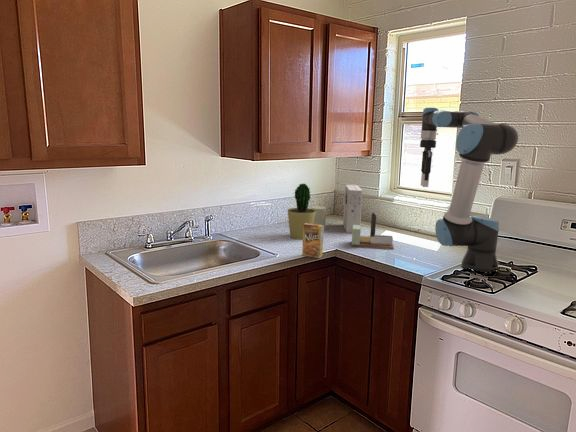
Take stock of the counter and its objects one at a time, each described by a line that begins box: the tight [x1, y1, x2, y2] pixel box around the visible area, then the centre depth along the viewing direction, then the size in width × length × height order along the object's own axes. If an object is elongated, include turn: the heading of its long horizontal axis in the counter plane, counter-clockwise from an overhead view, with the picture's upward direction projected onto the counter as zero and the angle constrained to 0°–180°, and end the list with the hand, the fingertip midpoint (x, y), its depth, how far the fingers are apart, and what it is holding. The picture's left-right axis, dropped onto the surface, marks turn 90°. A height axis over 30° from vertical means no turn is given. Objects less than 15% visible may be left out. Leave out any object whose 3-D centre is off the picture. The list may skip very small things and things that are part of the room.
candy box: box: [301, 223, 325, 259], centre depth 212 cm, size 9×4×15 cm, turn 66°
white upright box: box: [342, 184, 363, 234], centre depth 269 cm, size 22×8×25 cm, turn 179°
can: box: [310, 205, 327, 228], centre depth 275 cm, size 9×9×12 cm
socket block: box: [351, 224, 362, 245], centre depth 236 cm, size 10×4×8 cm, turn 171°
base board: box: [351, 242, 394, 250], centre depth 236 cm, size 10×21×1 cm, turn 81°
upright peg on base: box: [360, 212, 378, 242], centre depth 234 cm, size 3×11×15 cm, turn 81°
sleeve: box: [370, 234, 394, 245], centre depth 234 cm, size 4×11×4 cm, turn 81°
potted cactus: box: [286, 183, 316, 240], centre depth 246 cm, size 15×15×30 cm
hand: (424, 186), depth 229 cm, fingers open, 5 cm apart
